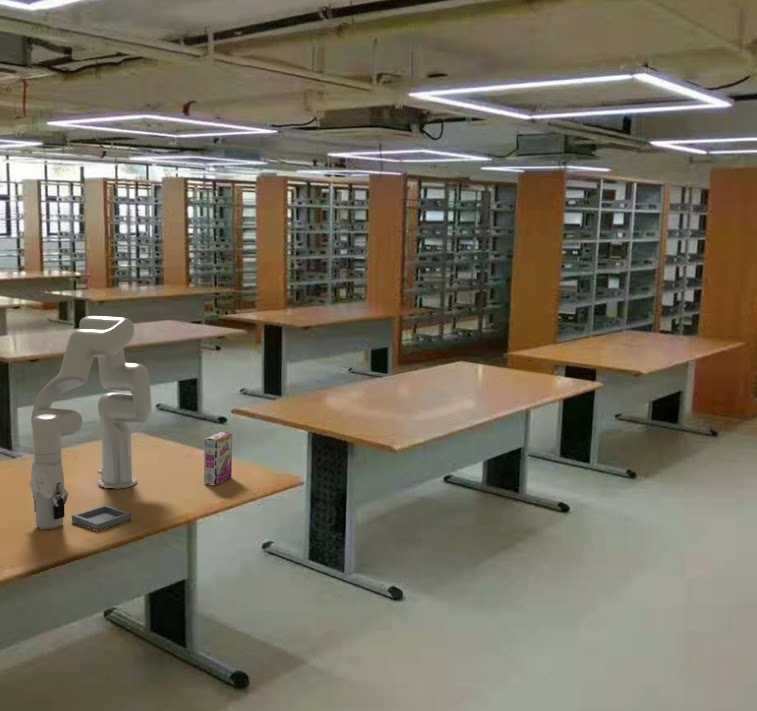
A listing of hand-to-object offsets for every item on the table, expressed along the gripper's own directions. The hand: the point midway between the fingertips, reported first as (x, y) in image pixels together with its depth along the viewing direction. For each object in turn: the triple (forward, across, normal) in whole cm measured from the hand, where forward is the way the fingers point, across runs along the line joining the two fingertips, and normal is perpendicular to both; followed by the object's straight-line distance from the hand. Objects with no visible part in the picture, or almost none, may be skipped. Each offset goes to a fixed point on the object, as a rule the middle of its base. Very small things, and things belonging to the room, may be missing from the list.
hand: (49, 514), depth 243 cm
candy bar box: (+4, +6, +62) cm, 62 cm away
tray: (+4, +8, +12) cm, 15 cm away
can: (+4, 0, 0) cm, 4 cm away
